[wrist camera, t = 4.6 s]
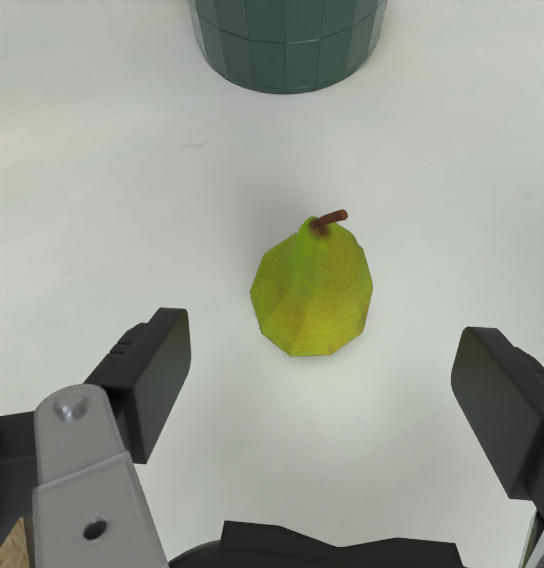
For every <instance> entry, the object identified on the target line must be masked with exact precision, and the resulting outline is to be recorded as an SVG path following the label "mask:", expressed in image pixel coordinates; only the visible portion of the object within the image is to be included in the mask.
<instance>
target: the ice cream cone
mask: <svg viewBox="0 0 544 568" xmlns="http://www.w3.org/2000/svg"><path fill="white" fill-rule="evenodd" d="M0 568H30V566H29V559H28V551H27V543H26V535H25V528H24V520H23V517H21V518H19V520H18V522H17V523H16V525H15V526H14V528H13V529H12V531H11V532H10V534H9V535H8V537H7V538H6V540H5V541H4V543H3V545H2V546H1V548H0Z"/></svg>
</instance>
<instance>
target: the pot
mask: <svg viewBox="0 0 544 568" xmlns="http://www.w3.org/2000/svg"><path fill="white" fill-rule="evenodd" d="M188 3H189V8H190V12H191V16H192V20H193V24H194V28H195V33H196V37H197V41H198V43H199V45H200V48H201V51H202V53H203V55H204V57H205V58H206V60H207V62H208V63H209V64H210V65H211V66H212V68H213V69H215V70H216V71H217V72H218V73H219V74H220V75H222V76H223V77H225V78H226V79H228V80H229V81H231V82H233V83H235V84H237V85H239V86H242V87H245V88H248V89H251V90H255V91H260V92H265V93H274V94H294V93H303V92H309V91H314V90H318V89H321V88H325V87H327V86H330V85H332V84H335V83H337V82H339V81H341V80H343V79H344V78H346V77H348V76H349V75H351V74H352V73H353V72H355V71H356V70H357V69H358V68H359V67H361V66H362V65H363V64H364V63H365V61H366V60H367V59H368V58H369V56H370V55H371V53H372V51H373V50H374V48H375V45H376V42H377V40H378V38H379V34H380V30H381V26H382V21H383V17H384V12H385V8H386V4H387V0H188Z"/></svg>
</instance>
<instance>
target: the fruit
mask: <svg viewBox="0 0 544 568" xmlns="http://www.w3.org/2000/svg"><path fill="white" fill-rule="evenodd" d="M347 218H348V214H347V212H346V211H345V210H343V209H342V210H339V211H336V212H333V213H330V214H327V215H324V216H322V217H320V218H318V217H314V216H313V217H310V218H308V219H307V220H306V221H305V222H304V223H303V224H302V226H301V227H300V229H299V232H298V233H295V234H293V235H292V236H290V237H289V238H287V239H286V240H284V241H283V242H281V243H280V244H278V245H277V246H275V247H274V248H272V249H271V250H269V251H268V252H266V253H265V254H264V256H263V258H262V261H261V263H260V266H259V269H258V271H257V274H256V277H255V279H254V282H253V285H252V288H251V290H250V294H251V300H252V303H253V306H254V310H255V313H256V316H257V320H258V323H259V326H260V330H261V333H262V334H263V335H264V336H266V337H267V338H268V339H269V340H271V341H272V342H273V343H274V344H276V345H277V346H278V347H279V348H281V349H282V350H283V351H284V352H286V353H287V354H288V355H289V356H291V357H292V356H317V355H331V354H333V353H334V352H336V351H337V350H338V349H340V348H341V347H343V346H344V345H346V344H347V343H348V342H350V341H351V340H353V339H354V338H355V337H357V336H358V335H360V334H361V333H362V331H363V329H364V326H365V321H366V317H367V312H368V308H369V304H370V299H371V295H372V290H373V283H372V279H371V276H370V272H369V268H368V265H367V261H366V258H365V254H364V251H363V248H362V247H361V246H359V245H358V243H357V241H356V239H355V237H354V235H353V234H352V233H350V232H349V231H348V230H346V229H345V228H343V227H342V226H340V225H338V224H337V223H335V222H338V221H342V220H346V219H347Z"/></svg>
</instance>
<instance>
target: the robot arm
mask: <svg viewBox="0 0 544 568" xmlns="http://www.w3.org/2000/svg"><path fill="white" fill-rule="evenodd" d="M190 364H191V345H190V333H189V321H188V313H187V310H186V309H179V308H162V307H161V308H159V309H158V310H157V312H156V313H155V314H154V315H153V317H152V318H151V319H150V321H149V322H148V323H140V324H138V325H136V326H135V327H133V328H131V329H130V330H128V331H126V333H125V334H124V335H123V336H122V337H121V338H120V340H119V341H118V342H117V344H115V346H114V347H113V348H112V349H111V350H110V353H109V354H107V355H106V356H105V358H104V359H103V360H102V361H101V362H100V363H99V365H98V366H97V367H96V368H95V369H94V371H93V372H92V373H91V374H90V375H89V377H88V378H87V379H86V380H85V381H84V383H83V384H78V385H73V386H69V387H66V388H63V389H61V390H58V391H56V392H54V393H53V394H51V395H49V396H48V397H47V398H45V399H44V400H43V401H42V402H41V403H40V404H39V405H38V407H37V408H36V410H35V411H31V412H25V413H18V414H12V415H6V416H0V548H1V546H2V545H3V543H4V541H5V540H6V538H7V537H8V535H9V534H10V532H11V531H12V529H13V528H14V526H15V525H16V523H17V522H18V520H19V518H21V517H26V516H31V515H33V527H34V546H35V565H36V568H467V567H465V566H463V564H462V561H461V558H460V556H459V553H458V550H457V547H456V544H455V543H448V542H438V541H428V540H418V539H408V538H398V537H396V538H391V539H385V540H380V541H374V542H369V543H363V544H358V545H352V546H347V547H336V546H332V545H330V544H327V543H324V542H321V541H319V540H316V539H313V538H311V537H308V536H305V535H303V534H300V533H297V532H295V531H292V530H289V529H287V528H284V527H281V526H277V525H267V524H256V523H246V522H236V521H226V520H225V521H224V526H223V531H222V536H221V540H217V541H212V542H208V543H205V544H202V545H199V546H197V547H194V548H192V549H190V550H188V551H186V552H184V553H182V554H180V555H179V556H177V557H175V558H174V559H172V560H171V561H169V562H167V560H166V557H165V554H164V551H163V548H162V545H161V542H160V539H159V536H158V533H157V530H156V528H155V525H154V522H153V519H152V516H151V513H150V510H149V507H148V504H147V501H146V499H145V496H144V493H143V490H142V487H141V484H140V481H139V478H138V475H137V472H136V470H135V467H134V464H133V463H136V464H147V461H148V459H149V457H150V455H151V453H152V451H153V448H154V446H155V444H156V442H157V440H158V438H159V436H160V433H161V431H162V429H163V427H164V425H165V423H166V420H167V418H168V416H169V414H170V412H171V410H172V407H173V405H174V403H175V401H176V399H177V397H178V394H179V392H180V390H181V388H182V386H183V384H184V381H185V379H186V377H187V375H188V372H189V369H190ZM451 386H452V390H453V393H454V395H455V397H456V399H457V401H458V403H459V405H460V407H461V409H462V410H463V412H464V414H465V416H466V418H467V420H468V422H469V424H470V426H471V427H472V429H473V431H474V433H475V435H476V437H477V439H478V441H479V443H480V444H481V446H482V448H483V450H484V452H485V454H486V456H487V458H488V460H489V461H490V463H491V465H492V467H493V469H494V471H495V473H496V475H497V476H498V478H499V480H500V482H501V484H502V486H503V488H504V490H505V492H506V493H507V495H508V497H509V499H519V500H530V501H533V503H534V504H535V506H536V510H535V512H534V515H533V517H532V519H531V523H530V527H529V530H528V534H527V538H526V541H525V545H524V549H523V552H522V556H521V560H520V564H519V567H518V568H544V367H543V366H542V365H541V364H540V363H539V362H538V361H537V360H536V359H535V358H534V357H532V356H530V355H529V354H527V353H526V352H524V351H522V350H521V349H519V348H518V347H514V346H513V345H512V344H511V343H510V342H509V341H508V340H507V338H506V337H505V336H504V335H503V334H502V333H501V332H500V331H499V330H498V329H496V328H484V327H466V328H465V329H464V330H463V332H462V335H461V339H460V342H459V346H458V350H457V353H456V357H455V361H454V364H453V368H452V372H451Z"/></svg>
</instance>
